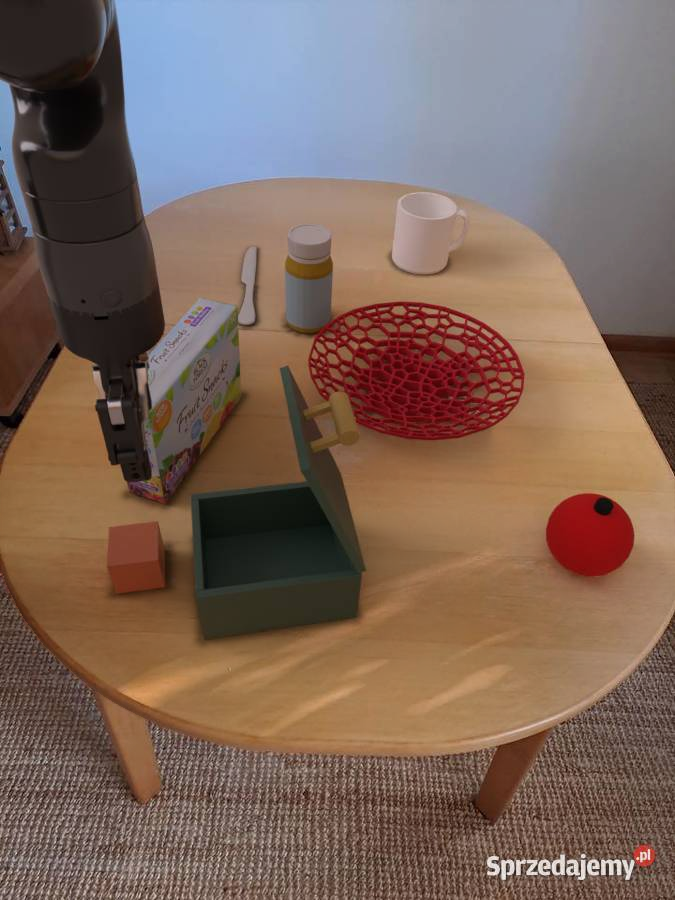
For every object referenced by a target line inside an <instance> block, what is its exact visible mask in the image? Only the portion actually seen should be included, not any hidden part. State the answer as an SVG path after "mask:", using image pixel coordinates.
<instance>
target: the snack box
mask: <svg viewBox="0 0 675 900" xmlns="http://www.w3.org/2000/svg"><path fill="white" fill-rule="evenodd" d="M238 312H239V310H238V305H236V304H235V305H234V304H230V303H226V302H222V301H218V300H214V299H210V298H209V299H208V298H205V297H199V299H197V301H196V302H195V303H194V304H193V305H192V306H191V307H190V308H189V310H188V311H186V313H185V314H184V315H183V316H182V318H181V319H180V320H178V321H177V322H176V324H175V325H174V326H173V327H172V329H170V330H169V332H168V333H167V334H166V335H165V336H164V337H163V338H162V339H161V341H160V342H159V343H157V346H156V347H155V348H154V349H153V351H152V352H151V353H150V354H149V365H150V368H149V370H148V378H149V380H148V385H149V390H150V395H151V400H152V409H151V410H149V418H148V419H147V420H146V421H144V428H145V437H146V440H147V441H148V446H147V451H148V456H149V460H150V465H151V469H152V477H151V479H150V480H147V481H138V482H127V481H126V484H127V485H126V486H127V489H128V492H129V493H130V494H134V495H137V496H140V497H143V498H146V499H149V500H152V501H155V502H158V503H160V504H163V505H166V504H167V503H168V502H169V501H170V499H171V498H172V496H173V495H174V493H175V492H176V491H177V489H178V488H179V486H180V485H181V483H182V482H183V480H184V479H185V478H186V476H187V475H188V473H189V472H190V471H191V469H192V468H193V467H194V465H195V463H196V462H197V460H198V459H199V457H200V456H201V454H202V453H203V452H204V450H205V449H206V448H207V447H208V445H209V443H210V442H211V441H212V439H213V437H215V435H216V433H217V432H218V431H219V430H220V428H221V426H222V425H223V424H224V422H225V421H226V420H227V418H228V417H229V415H230V414H231V412H232V411H233V410H234V409H235V407H236V406H237V404H238V403H239V401H240V400H241V398H242V397H243V394H242V393H243V392H242V377H241V359H240V357H241V356H240V335H239V322H238V316H239V313H238Z"/></svg>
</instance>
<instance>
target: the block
mask: <svg viewBox="0 0 675 900" xmlns="http://www.w3.org/2000/svg"><path fill="white" fill-rule="evenodd" d="M160 527H161V526H160V525H159V521H158V520H156V521H149V522H140V523H130V524H123V525H113V526H109V527H108V537H107V557H106V568H107V571H108V574H109V577H110V579H111V582H112V585H113V588H114V591H115V594H117V595H118V594H125V593H131V592H133V593H134V592H139V591H147V590H154V589H161V588H166V558H165V557H166V551H165V550H166V549H165V545H164V540H163V536H162V533H161V532H162V531H161V528H160Z"/></svg>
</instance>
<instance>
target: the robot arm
mask: <svg viewBox="0 0 675 900" xmlns="http://www.w3.org/2000/svg"><path fill="white" fill-rule="evenodd" d="M118 18H119V17H118V11H117V5H116V0H0V81H2V82H4V83H6V84H8V85H9V89H10V95H11V97H12V102H13V109H14V122H13V123H14V124H13V130H12V138H11V153H12V160H13V166H14V170H15V174H16V178H17V182H18V185H19V189H20V192H21V195H22V198H23V201H24V206H25V209H26V213H27V216H28V219H29V222H30V225H31V226H30V227H31V230H32V234H33V242H34V249H35V255H36V261H37V264H38V267H39V271H40V275H41V277H42V281H43V283H44V287H45V290H46V295H47V298H48V300H49V304H50V307H51V312H52V314H53V317H54V321H55V324H56V328H57V330H58V334H59V337H60V340H61V343H62V344H63V346H64V347H65V348H66V349H67V350H68V351H69V353H71V354H73V355H74V356H77V357H79V358H81V359H84V360H86V361H89V362H92V363H93V364H92V366H91V375H92V381H93V385H94V387H95V388H96V389H97V393H98V398H96V401H95V403H96V404H95V405H94V409H95V412H96V413H97V417H98V420H99V424H100V429H101V433H102V437H103V439H104V443H105V447H106V451H107V459H108V462H110V465H111V466H120V469H121V473H122V475H123V480H124V481H125V482H126V483H127V482H138V481H147V480H150V479H151V477H152V469H151V465H150V460H149V456H148V451H147V446H148V441H147V440H146V437H145V428H144V421H146V420H147V419H148V418H149V410H151V409H152V400H151V395H150V390H149V385H148V380H149V378H148V370H149V368H150V365H149V354H148V350H150V349H151V348H152V347H154V346H155V345H156V344H157V345H158V344H159V343H160V342H159V341H160V340H162V337H163V335H164V333H165V329H166V320H165V314H164V308H163V302H162V296H161V290H160V283H159V278H158V271H157V270H158V269H157V264H156V258H155V252H154V247H153V242H152V238H151V235H150V232H149V229H148V226H147V225H148V224H147V222H146V218H145V214H144V210H143V203H142V198H141V197H142V196H141V190H140V184H139V179H138V173H137V167H136V162H135V158H134V154H133V150H132V146H131V141H130V137H129V130H128V125H127V117H126V115H127V114H126V97H125V96H126V95H125V84H124V83H125V82H124V69H123V56H122V46H121V45H122V44H121V35H120V26H119V19H118ZM158 342H159V343H158Z"/></svg>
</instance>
